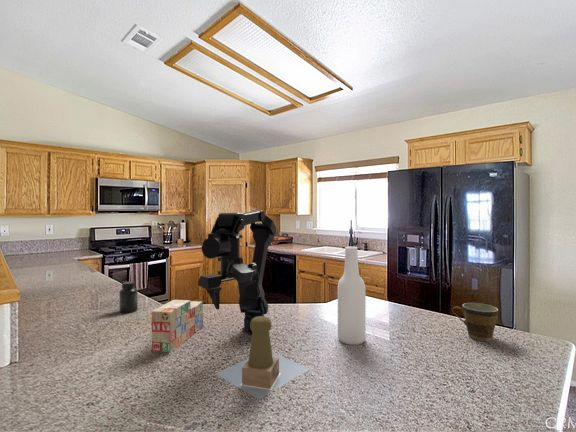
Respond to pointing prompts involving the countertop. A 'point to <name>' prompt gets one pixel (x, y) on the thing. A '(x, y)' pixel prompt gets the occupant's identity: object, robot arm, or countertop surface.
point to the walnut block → (260, 375)
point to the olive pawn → (260, 343)
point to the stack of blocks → (175, 323)
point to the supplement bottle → (128, 298)
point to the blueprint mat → (286, 374)
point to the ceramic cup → (479, 320)
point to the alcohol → (351, 301)
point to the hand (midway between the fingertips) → (230, 305)
